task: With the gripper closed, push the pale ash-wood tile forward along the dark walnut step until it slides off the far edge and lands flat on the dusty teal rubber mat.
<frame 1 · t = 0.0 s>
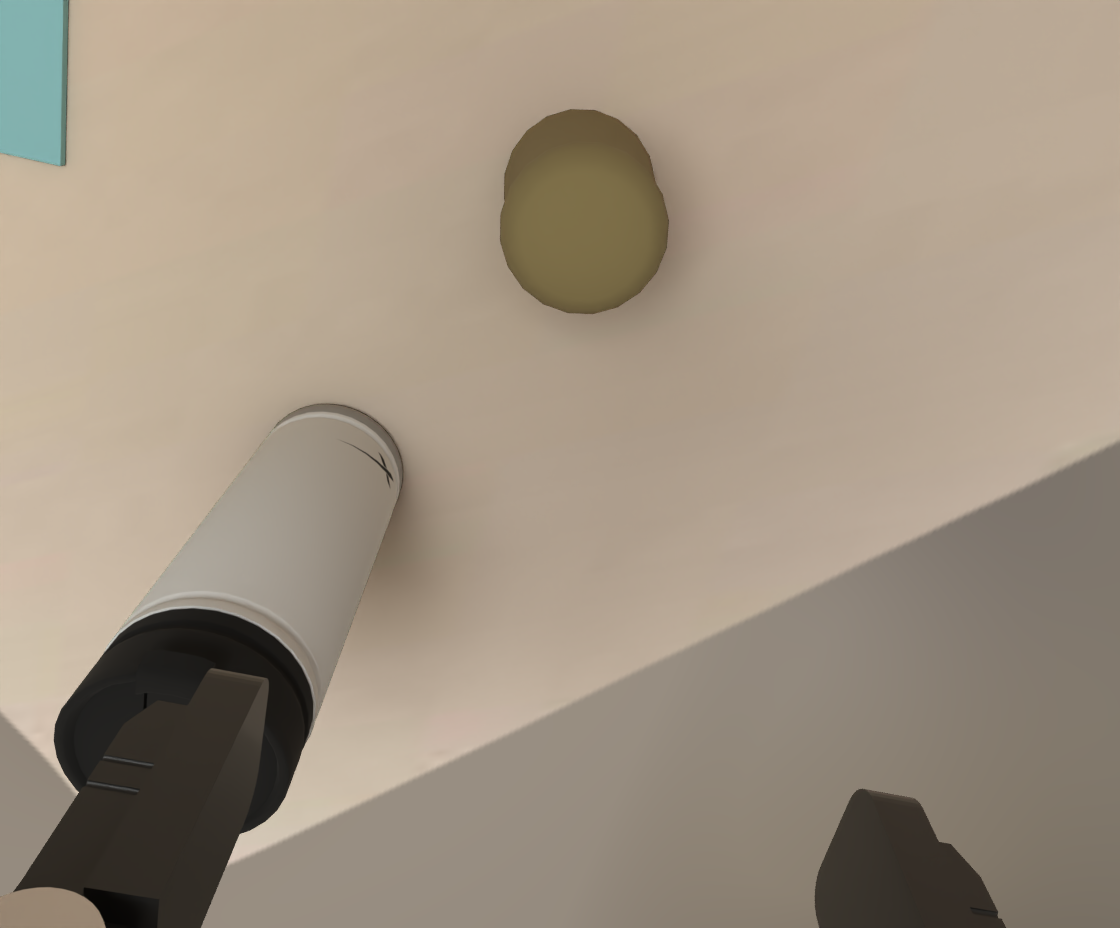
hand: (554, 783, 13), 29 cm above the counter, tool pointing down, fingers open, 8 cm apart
cork: (579, 188, 38), on the counter
travel mug: (335, 462, 43), on the counter
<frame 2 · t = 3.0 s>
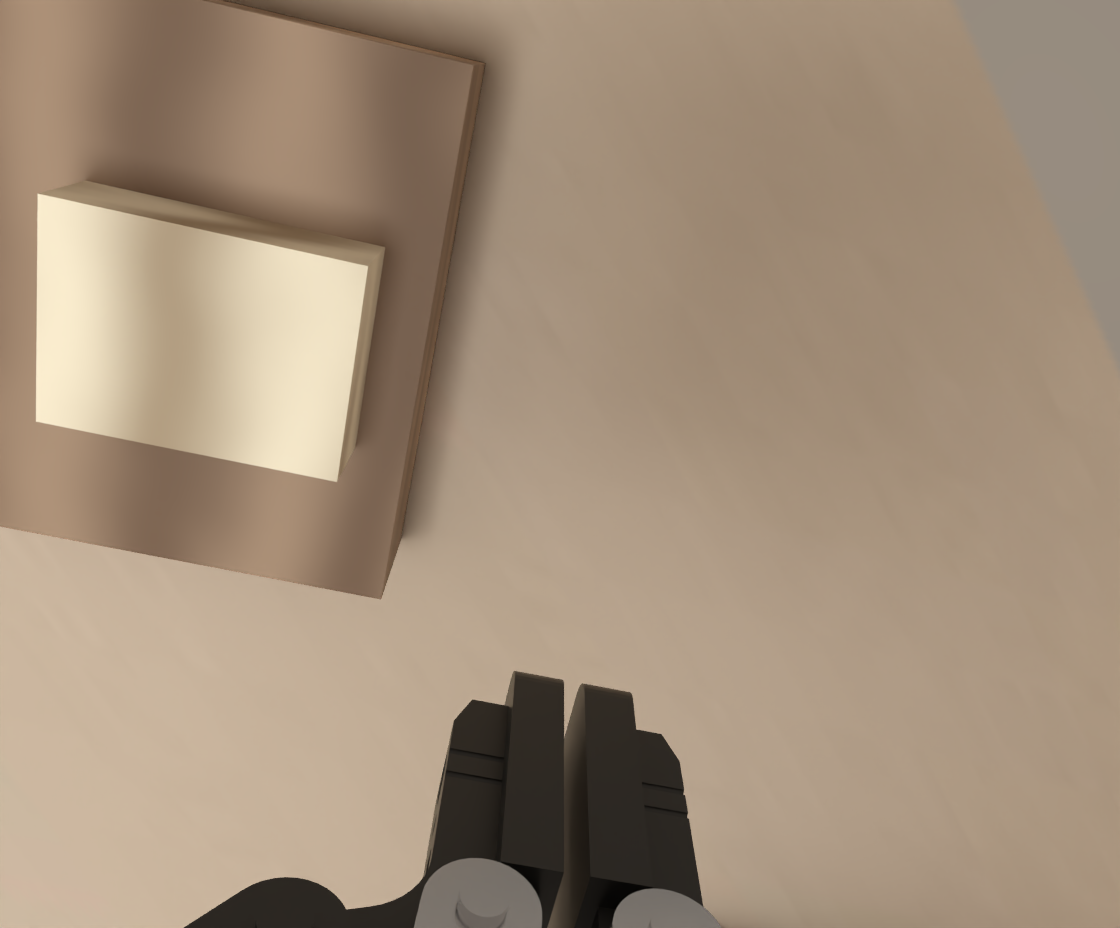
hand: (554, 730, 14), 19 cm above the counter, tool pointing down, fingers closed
ash tile: (227, 321, 27), point 4 cm above the counter, touching walnut step
walnut step: (220, 278, 30), on the counter
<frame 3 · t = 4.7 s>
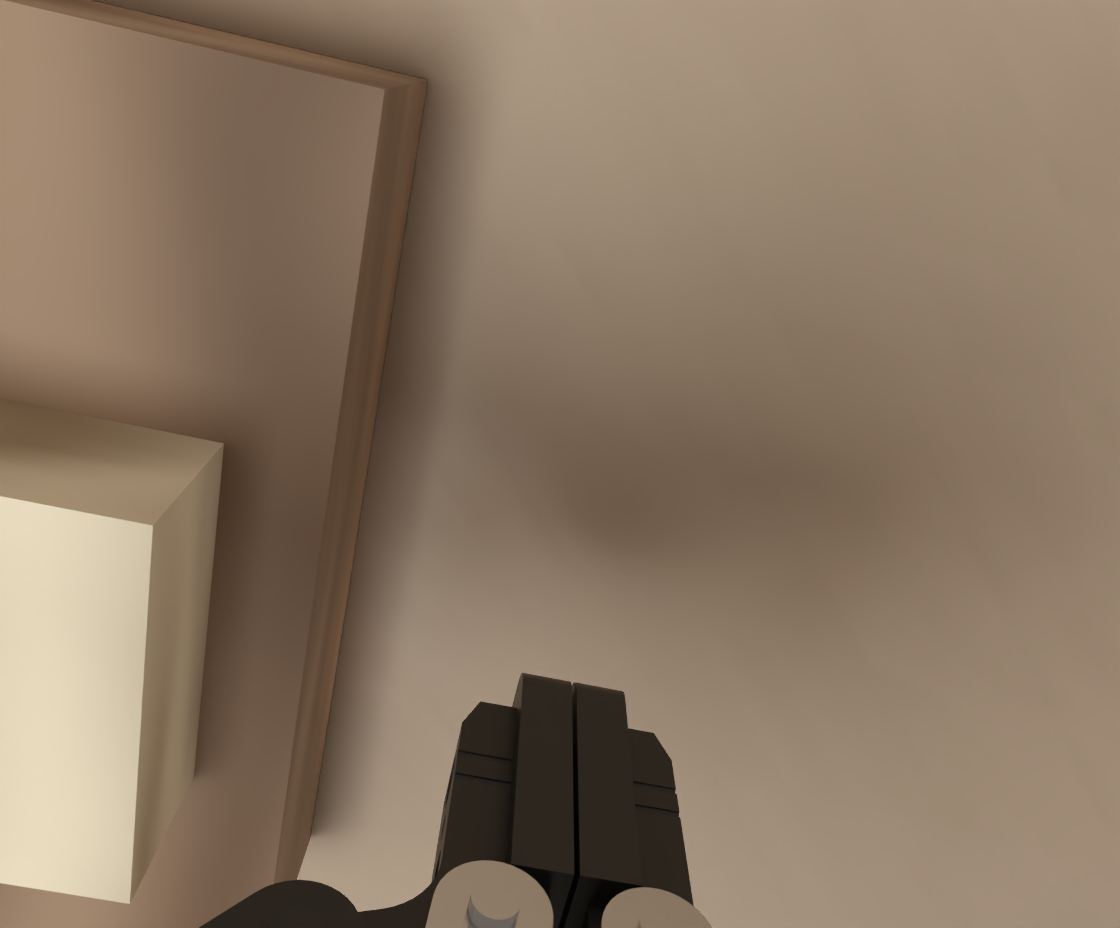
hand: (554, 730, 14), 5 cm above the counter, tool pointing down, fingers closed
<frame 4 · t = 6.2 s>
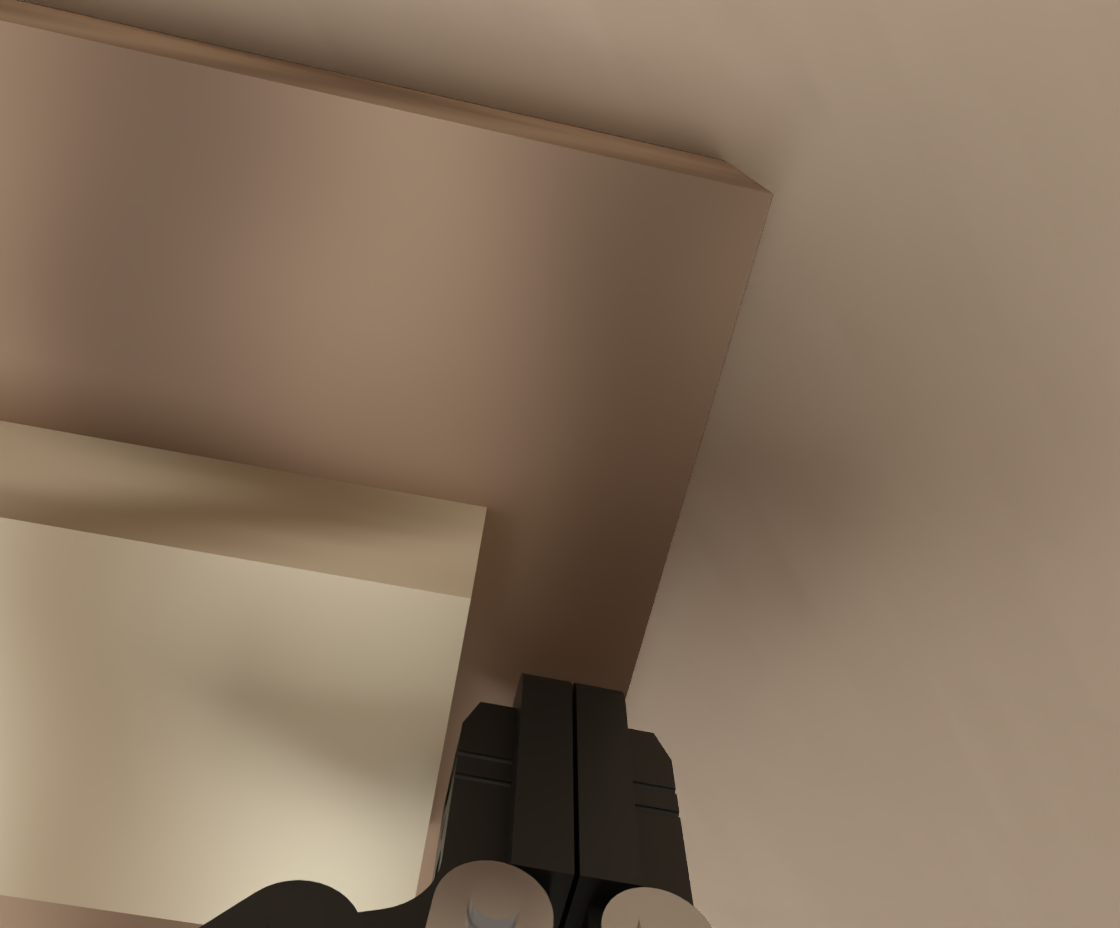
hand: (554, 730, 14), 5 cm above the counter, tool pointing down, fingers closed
ash tile: (194, 634, 15), point 4 cm above the counter, touching gripper, walnut step
walnut step: (251, 510, 18), on the counter
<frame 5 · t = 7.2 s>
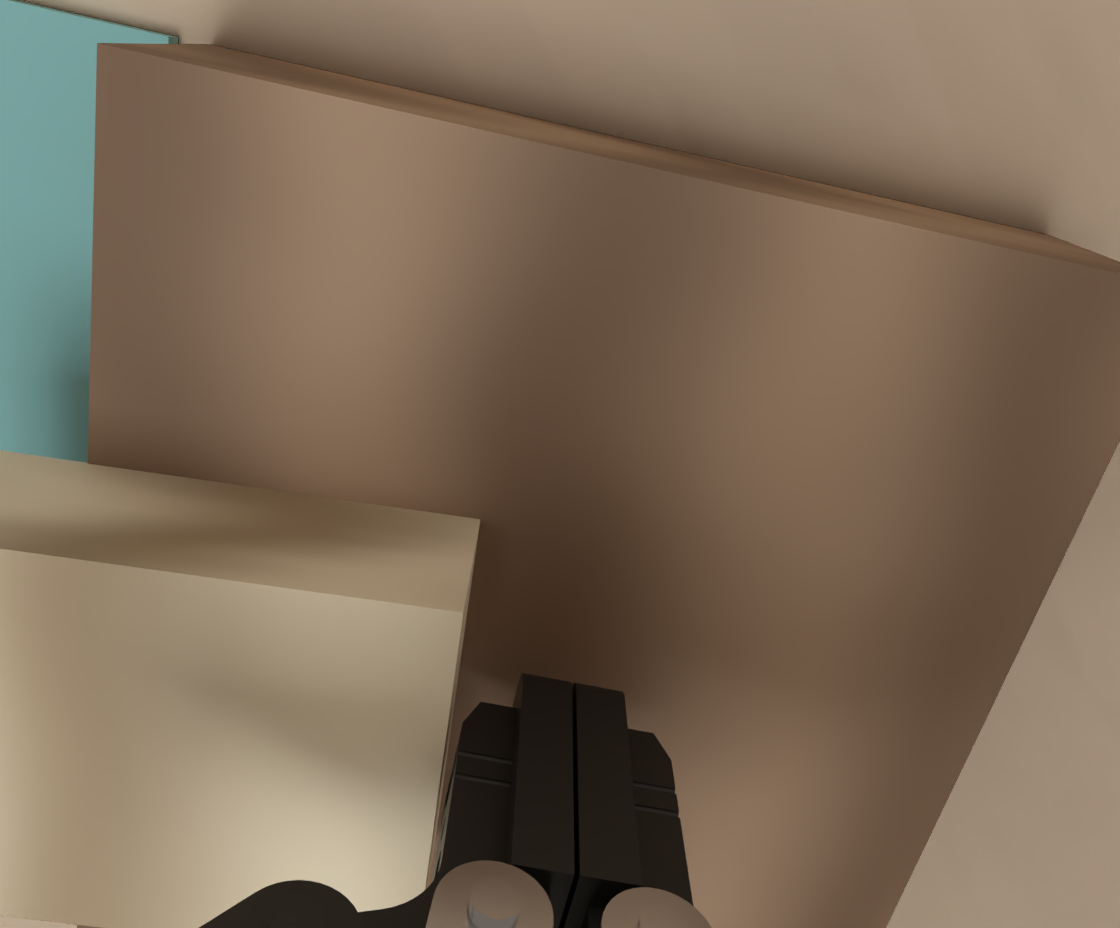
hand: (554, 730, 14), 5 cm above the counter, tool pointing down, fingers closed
ash tile: (198, 654, 15), point 4 cm above the counter, touching gripper, walnut step
walnut step: (544, 565, 19), on the counter
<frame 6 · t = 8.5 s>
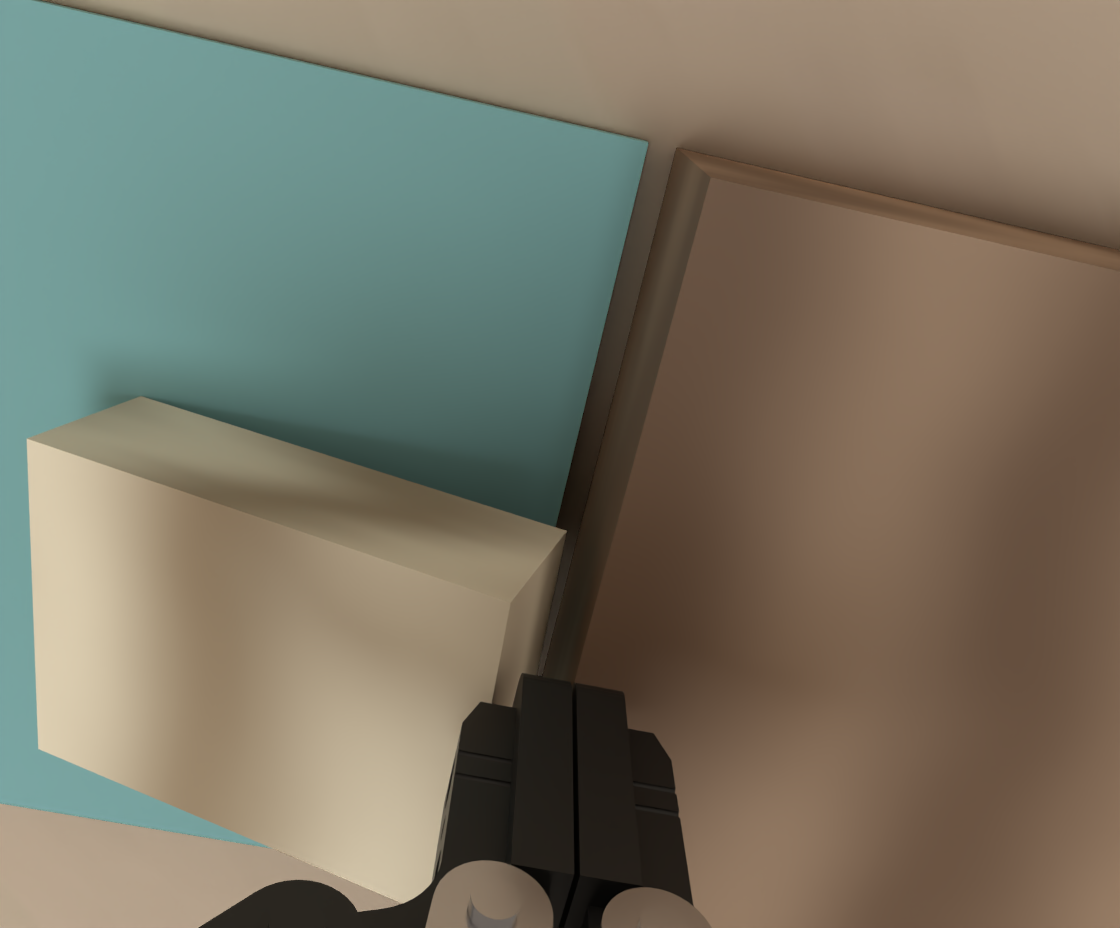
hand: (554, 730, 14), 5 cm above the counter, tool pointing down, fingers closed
teal mat: (154, 488, 18), on the counter
ash tile: (326, 611, 17), point 2 cm above the counter, tilted 18°
walnut step: (910, 635, 19), on the counter
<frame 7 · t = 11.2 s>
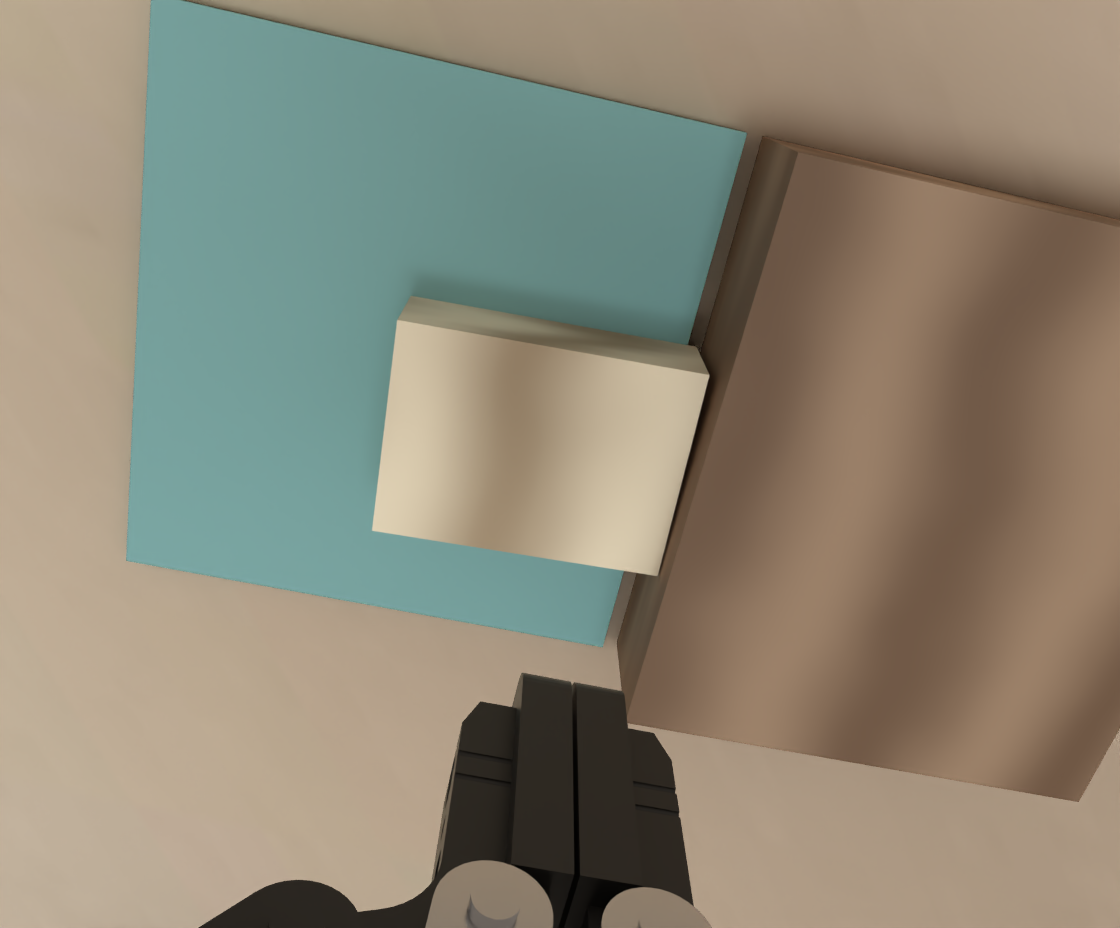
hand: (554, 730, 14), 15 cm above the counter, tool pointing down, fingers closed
teal mat: (410, 362, 27), on the counter
ash tile: (536, 421, 28), resting on teal mat
walnut step: (907, 464, 29), on the counter
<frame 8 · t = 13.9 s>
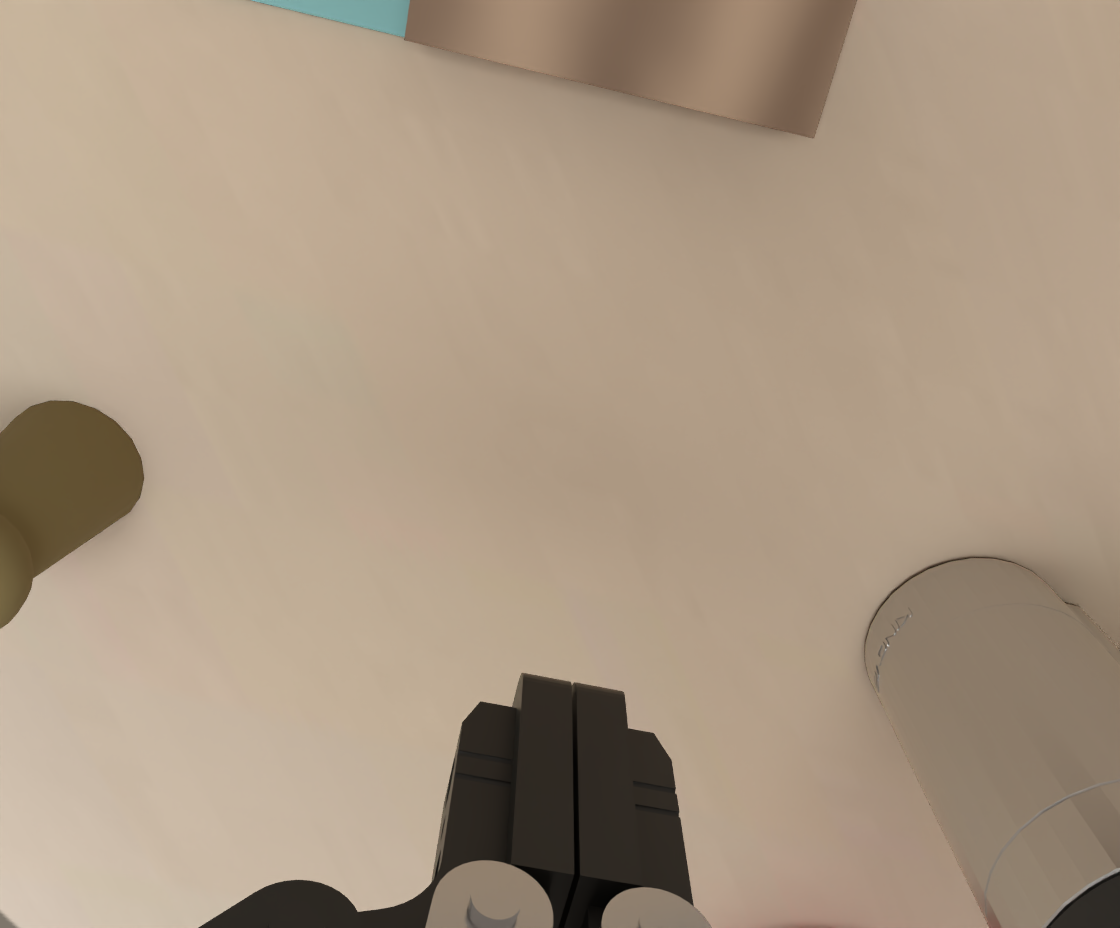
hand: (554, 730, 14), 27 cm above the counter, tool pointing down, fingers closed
cork: (75, 464, 42), on the counter
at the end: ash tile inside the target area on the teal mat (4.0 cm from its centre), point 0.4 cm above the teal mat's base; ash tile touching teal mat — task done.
